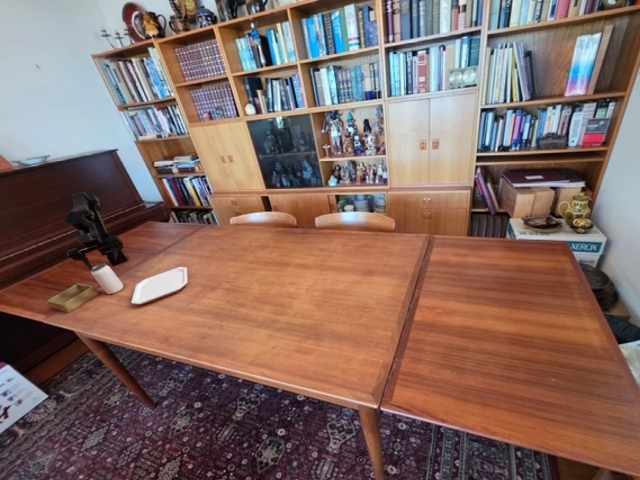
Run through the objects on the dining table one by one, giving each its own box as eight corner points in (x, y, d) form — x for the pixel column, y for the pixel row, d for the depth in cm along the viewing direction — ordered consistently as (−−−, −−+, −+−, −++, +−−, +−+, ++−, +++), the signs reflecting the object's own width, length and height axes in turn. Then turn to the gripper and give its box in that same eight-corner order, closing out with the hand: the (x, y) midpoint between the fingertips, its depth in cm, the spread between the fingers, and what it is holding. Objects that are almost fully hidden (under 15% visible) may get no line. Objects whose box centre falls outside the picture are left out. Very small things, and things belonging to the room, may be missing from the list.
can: (120, 291, 127) (103, 269, 121) (104, 296, 126) (86, 273, 120) (126, 283, 133) (109, 261, 126) (111, 287, 132) (93, 265, 125)
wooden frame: (84, 290, 134) (78, 283, 132) (99, 293, 129) (93, 286, 127) (53, 308, 125) (46, 301, 123) (68, 312, 120) (61, 304, 118)
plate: (132, 311, 113) (129, 307, 112) (139, 285, 129) (136, 281, 128) (189, 290, 119) (186, 285, 118) (188, 268, 135) (186, 264, 134)
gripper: (52, 234, 121) (66, 267, 119) (104, 218, 128) (118, 249, 126) (69, 245, 131) (82, 275, 129) (117, 229, 138) (130, 258, 136)
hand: (103, 264), depth 130 cm, fingers open, 9 cm apart
